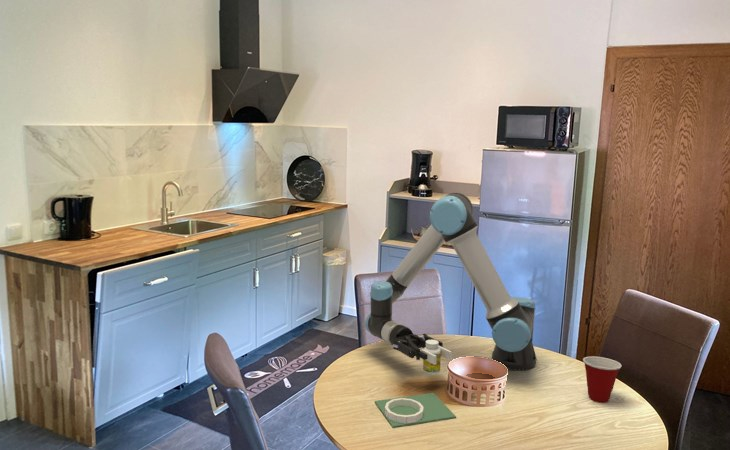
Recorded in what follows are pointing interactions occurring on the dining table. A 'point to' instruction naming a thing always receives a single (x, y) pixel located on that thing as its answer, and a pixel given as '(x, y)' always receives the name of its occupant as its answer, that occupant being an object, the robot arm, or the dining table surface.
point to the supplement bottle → (434, 349)
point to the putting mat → (431, 411)
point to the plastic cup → (600, 377)
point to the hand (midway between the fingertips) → (443, 358)
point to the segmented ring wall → (404, 418)
